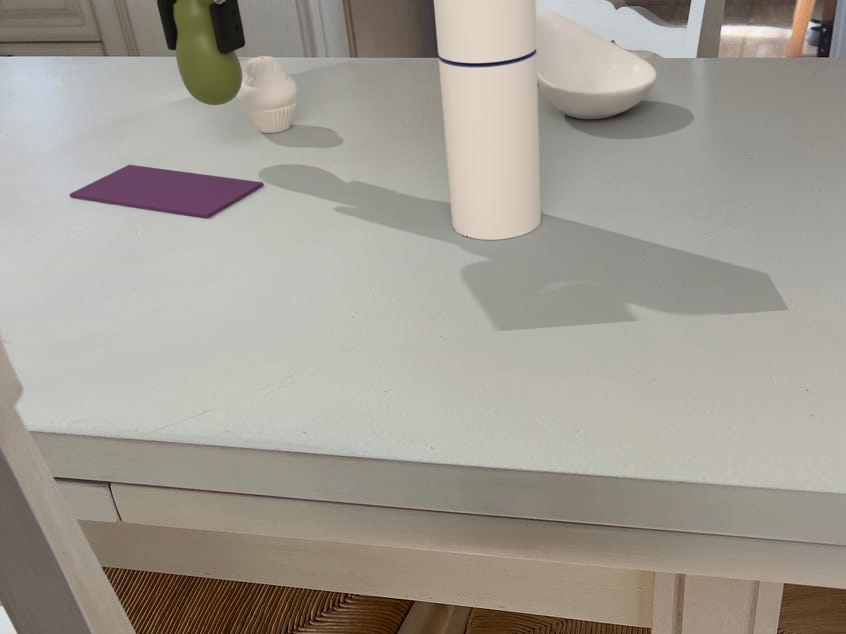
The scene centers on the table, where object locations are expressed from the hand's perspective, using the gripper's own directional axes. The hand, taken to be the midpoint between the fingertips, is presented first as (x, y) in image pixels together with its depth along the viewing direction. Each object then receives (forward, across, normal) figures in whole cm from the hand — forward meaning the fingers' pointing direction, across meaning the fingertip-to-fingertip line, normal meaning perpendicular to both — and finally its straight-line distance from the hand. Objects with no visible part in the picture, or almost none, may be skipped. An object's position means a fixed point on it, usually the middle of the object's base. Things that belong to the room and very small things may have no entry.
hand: (206, 45), depth 92 cm
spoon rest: (+10, +24, +26) cm, 36 cm away
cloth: (+10, 0, -10) cm, 14 cm away
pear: (+5, 0, 0) cm, 5 cm away
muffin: (+10, -1, +8) cm, 13 cm away
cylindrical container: (+10, +32, -6) cm, 34 cm away
